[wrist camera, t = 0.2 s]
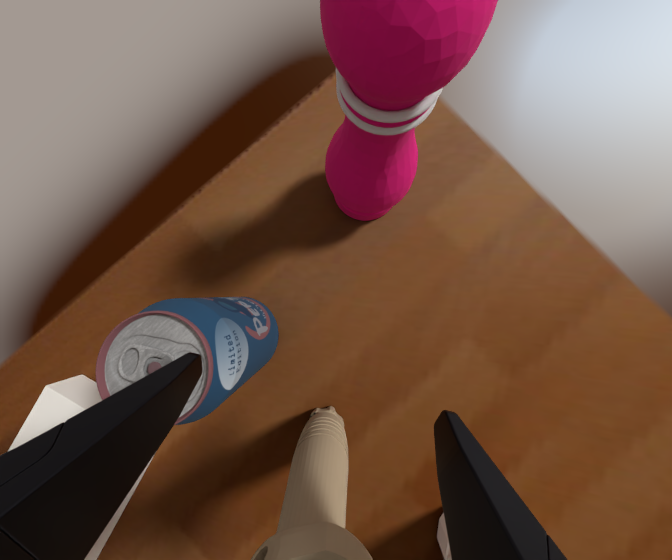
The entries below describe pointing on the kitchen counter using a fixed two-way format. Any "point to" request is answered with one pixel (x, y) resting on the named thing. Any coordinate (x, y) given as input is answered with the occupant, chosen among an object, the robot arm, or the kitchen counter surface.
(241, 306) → the soda can
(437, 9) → the pepper mill
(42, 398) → the control plate
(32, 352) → the kitchen counter surface
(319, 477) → the handle
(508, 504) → the robot arm
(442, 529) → the white cup
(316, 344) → the kitchen counter surface
